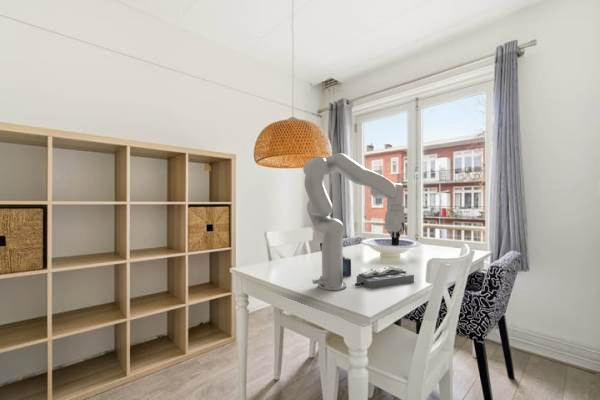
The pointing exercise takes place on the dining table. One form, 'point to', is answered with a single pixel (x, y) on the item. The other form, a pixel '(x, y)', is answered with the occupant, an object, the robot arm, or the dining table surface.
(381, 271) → the rocker
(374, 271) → the rocker
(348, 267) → the flask
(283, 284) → the dining table surface
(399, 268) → the rocker
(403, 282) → the power strip
